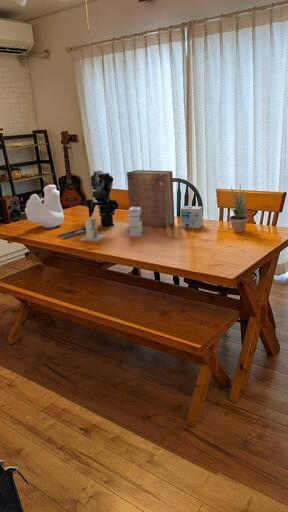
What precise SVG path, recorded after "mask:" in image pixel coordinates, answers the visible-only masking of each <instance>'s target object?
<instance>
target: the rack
mask: <svg viewBox="0 0 288 512" xmlns="http://www.w3.org/2000/svg"><path fill="white" fill-rule="evenodd" d="M79 230H83V231H82V232H78V233H75V232H76V231H79ZM84 234H86V227H81V228H77V229H75V230H74V229H73V230H70V231H65V232H63V233H62V232H61V233H59V234H57V237H58V238H61V237H63V239H64V240H67V239H70V238H73V237H78V236H80V235H81V236H82V235H84Z"/></svg>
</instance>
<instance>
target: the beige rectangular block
mask: <svg viewBox="0 0 288 512" xmlns="http://www.w3.org/2000/svg"><path fill="white" fill-rule="evenodd" d="M84 223H85V228H86V230H85V231H86V233H85V234H86V235H87V239H93V238H95V237H97V236H98V235H99V231H98V230H99V228H98V220H97V217H96V216H95V217H93V216H91V217H89V218H88V219H85V220H84Z"/></svg>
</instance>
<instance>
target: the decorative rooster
mask: <svg viewBox="0 0 288 512" xmlns="http://www.w3.org/2000/svg"><path fill="white" fill-rule="evenodd" d="M42 191H43V193H44V197H42V198H41V197H39V195H38V194H36V193H34V194H33V193H32V194H31V195H30V196H29V198H28V200H27V202H26V204H25V209H24V212H25V215H26V218H27V220H28V221H30V222H32V223H33V224H35V223H37V224H39V225H40V226H41V227H43V228H46V229H52V228H56V227H57V226H61V224H63V223H64V219H65V215H64V211H63V210H64V209H63V207H62V204H61V202H60V201H61V198H60V190H57V185H55V184H48V185H46V186H44V188H43V190H42ZM42 201H43V202H42Z"/></svg>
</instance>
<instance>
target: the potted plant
mask: <svg viewBox="0 0 288 512" xmlns="http://www.w3.org/2000/svg"><path fill="white" fill-rule="evenodd" d="M230 188H231V191H232V194H233V195H232V196H233V197H234V199H235V200H234V199H233V198H231V199H232V200H231V201H232V203H233V205H234V208H232V207H230V209H231V211H232V213H233V214H234V215H231V216H229V217H228V218H229V222H230V225H231V228H232V231H233V232H234V233H245V231H246V227H247V224H248V221H249V216H248V215H247V212H248V210H249V208H250V207H249V206H248V207H247V204H248V201H246V196H245V197H244V191H241V189H242V187H241V184H239V190H238V191H239V192H238V193H239V194H236V192H235V191H234V190H233V187H232V186H230ZM237 195H238V196H237ZM243 197H244V199H243ZM245 201H246V202H245Z"/></svg>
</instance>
